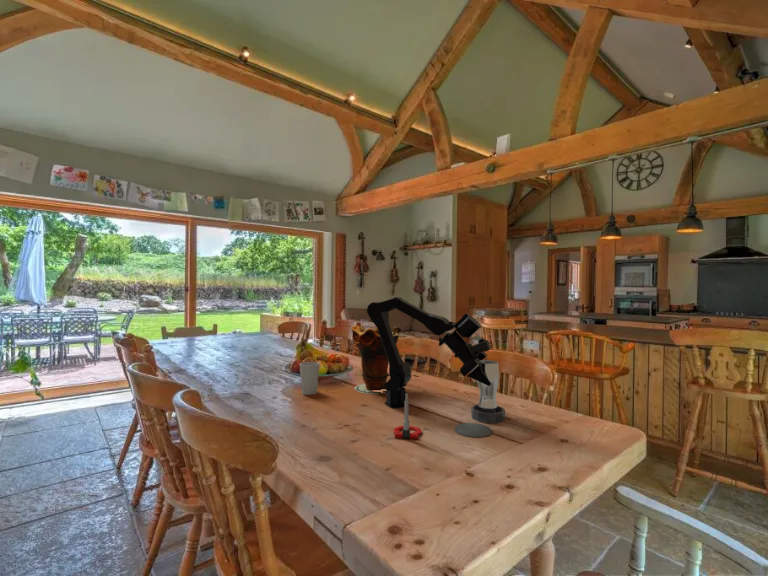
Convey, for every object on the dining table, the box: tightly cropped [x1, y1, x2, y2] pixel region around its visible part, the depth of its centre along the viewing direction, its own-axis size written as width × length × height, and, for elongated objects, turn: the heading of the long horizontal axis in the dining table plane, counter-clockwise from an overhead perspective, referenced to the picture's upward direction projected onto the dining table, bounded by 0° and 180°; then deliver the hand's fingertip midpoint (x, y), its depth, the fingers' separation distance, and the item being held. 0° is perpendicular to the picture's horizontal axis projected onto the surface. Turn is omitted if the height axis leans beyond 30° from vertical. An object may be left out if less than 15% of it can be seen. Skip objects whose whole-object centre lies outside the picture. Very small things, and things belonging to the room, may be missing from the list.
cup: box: [299, 361, 320, 396], centre depth 161 cm, size 8×8×12 cm
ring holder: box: [470, 403, 506, 424], centre depth 130 cm, size 11×11×3 cm
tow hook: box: [393, 392, 423, 440], centre depth 116 cm, size 8×13×9 cm
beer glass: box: [477, 359, 500, 409], centre depth 130 cm, size 7×7×15 cm
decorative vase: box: [350, 325, 402, 395], centre depth 168 cm, size 21×23×28 cm
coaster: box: [454, 422, 493, 439], centre depth 118 cm, size 11×11×1 cm
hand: (492, 382), depth 129 cm, fingers closed on beer glass, 7 cm apart
